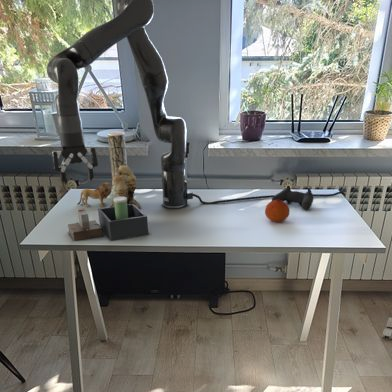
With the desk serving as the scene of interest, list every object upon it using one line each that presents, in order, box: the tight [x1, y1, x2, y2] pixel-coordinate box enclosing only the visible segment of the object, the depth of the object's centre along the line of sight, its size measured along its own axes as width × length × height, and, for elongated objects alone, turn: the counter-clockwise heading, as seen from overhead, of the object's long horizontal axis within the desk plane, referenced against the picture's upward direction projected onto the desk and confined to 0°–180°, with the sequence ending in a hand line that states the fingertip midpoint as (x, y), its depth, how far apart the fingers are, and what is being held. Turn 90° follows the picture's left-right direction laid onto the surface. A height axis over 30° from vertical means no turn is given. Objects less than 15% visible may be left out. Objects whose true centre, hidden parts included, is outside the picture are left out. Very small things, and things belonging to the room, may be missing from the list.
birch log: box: [107, 130, 128, 181], centre depth 213 cm, size 7×7×25 cm
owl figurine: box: [109, 165, 141, 209], centre depth 197 cm, size 18×12×17 cm, turn 176°
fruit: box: [264, 199, 290, 223], centre depth 187 cm, size 9×9×8 cm
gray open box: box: [97, 204, 149, 241], centre depth 180 cm, size 14×16×7 cm
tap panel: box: [67, 219, 103, 241], centre depth 178 cm, size 10×10×3 cm
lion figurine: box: [76, 182, 113, 208], centre depth 204 cm, size 15×5×9 cm, turn 95°
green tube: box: [113, 197, 128, 220], centre depth 179 cm, size 5×5×11 cm
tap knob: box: [76, 208, 90, 229], centre depth 176 cm, size 6×2×5 cm, turn 24°
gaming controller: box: [271, 184, 314, 211], centre depth 203 cm, size 17×6×10 cm
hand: (78, 181), depth 169 cm, fingers open, 8 cm apart
